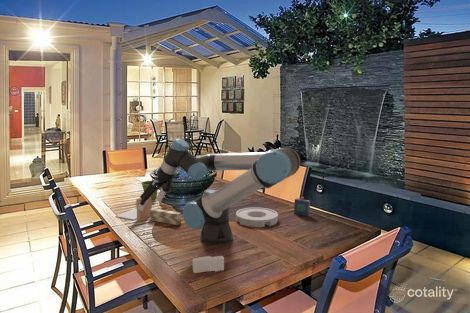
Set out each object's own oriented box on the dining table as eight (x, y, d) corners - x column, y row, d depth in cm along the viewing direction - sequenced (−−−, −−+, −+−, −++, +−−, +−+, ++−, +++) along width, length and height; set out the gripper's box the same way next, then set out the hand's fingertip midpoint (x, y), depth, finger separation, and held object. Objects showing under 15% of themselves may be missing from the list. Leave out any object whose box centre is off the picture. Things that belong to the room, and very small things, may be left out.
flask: (310, 215, 202) (310, 197, 201) (308, 216, 200) (309, 198, 198) (294, 213, 207) (295, 195, 205) (293, 214, 204) (293, 196, 203)
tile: (151, 215, 199) (151, 195, 198) (140, 220, 190) (139, 199, 189) (148, 215, 200) (148, 194, 199) (136, 220, 191) (136, 198, 190)
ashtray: (272, 229, 179) (272, 222, 179) (229, 224, 187) (229, 217, 186) (281, 216, 201) (281, 209, 201) (243, 212, 209) (243, 205, 208)
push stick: (181, 223, 187) (180, 212, 186) (177, 225, 184) (177, 214, 184) (153, 218, 195) (153, 208, 194) (150, 220, 192) (149, 209, 191)
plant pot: (145, 196, 241) (145, 180, 239) (162, 197, 239) (162, 180, 237) (138, 200, 229) (138, 184, 228) (156, 201, 228) (155, 184, 226)
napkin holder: (185, 275, 131) (185, 261, 131) (198, 262, 142) (197, 249, 141) (222, 282, 127) (222, 267, 126) (233, 268, 137) (233, 254, 136)
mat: (152, 212, 205) (152, 211, 205) (133, 220, 191) (133, 219, 191) (134, 209, 211) (134, 208, 211) (115, 216, 196) (115, 215, 196)
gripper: (177, 159, 170) (159, 192, 178) (144, 170, 148) (125, 207, 156) (188, 169, 168) (170, 202, 176) (156, 181, 146) (137, 218, 154)
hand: (149, 204), depth 166 cm, fingers open, 13 cm apart
